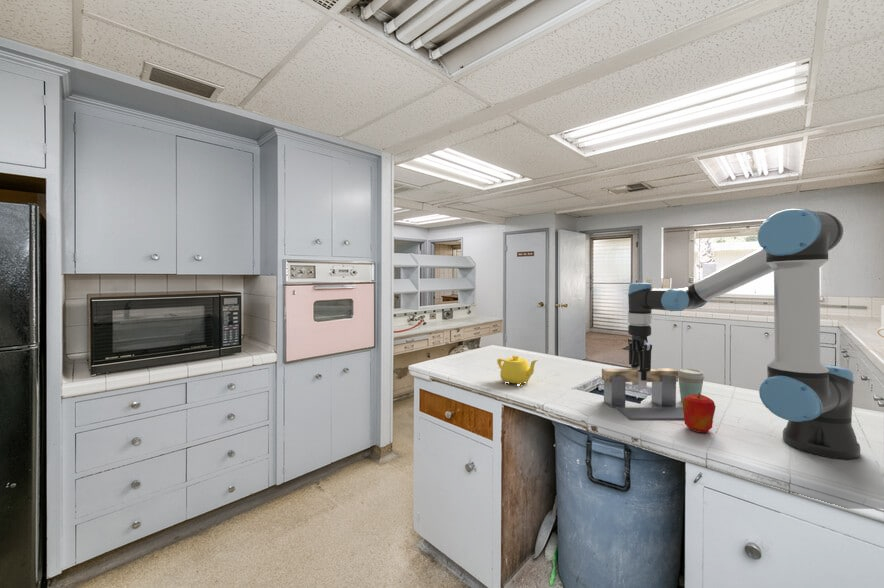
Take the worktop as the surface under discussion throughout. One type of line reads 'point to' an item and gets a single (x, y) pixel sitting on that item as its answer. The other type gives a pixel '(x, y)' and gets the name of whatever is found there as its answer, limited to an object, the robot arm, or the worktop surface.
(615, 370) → the rail
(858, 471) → the worktop surface
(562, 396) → the worktop surface
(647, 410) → the mat
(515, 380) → the teapot
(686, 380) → the coffee cup
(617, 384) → the rack
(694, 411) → the apple
